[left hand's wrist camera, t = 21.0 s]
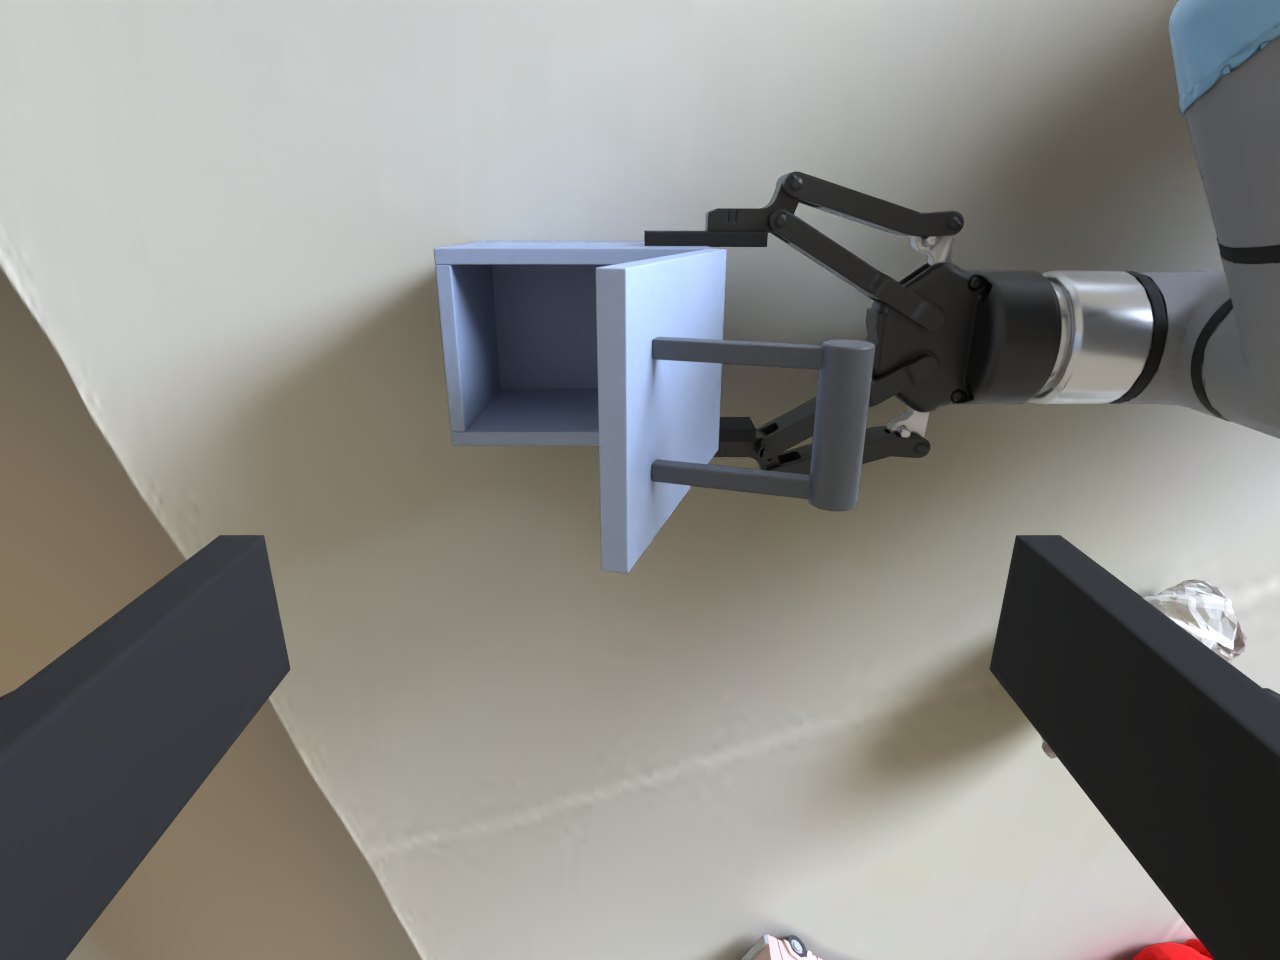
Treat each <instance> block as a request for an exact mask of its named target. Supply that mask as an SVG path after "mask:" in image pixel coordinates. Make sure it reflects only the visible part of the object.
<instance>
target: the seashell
mask: <svg viewBox="0 0 1280 960" xmlns="http://www.w3.org/2000/svg"><path fill="white" fill-rule="evenodd" d="M1142 598H1144V599H1145V600H1146V601H1148V602H1149V603H1150V604H1152V605H1153V606H1154V607H1156V608H1157V609H1158V610H1159V611H1161V612H1162V613H1163V614H1165V615H1166V616H1167V617H1169V618H1170V619H1171V620H1173V621H1174V622H1175V623H1177V624H1178V625H1179V626H1181V627H1182V628H1183V629H1185V630H1186V631H1187V632H1189V633H1190V634H1191V635H1193V636H1194V637H1195V638H1197V639H1198V640H1199V641H1201V642H1202V643H1203V644H1204V645H1206V646H1207V647H1208V648H1210V649H1211V650H1212V651H1214V652H1215V653H1216V654H1218V655H1219V656H1220V657H1222V658H1223V659H1224V660H1226V661H1227V662H1228V663H1231V662H1232V661H1233V660H1234V659H1236V658H1237V657H1239V656H1240V655H1241V654H1242V653H1243V652H1244V650H1245V647H1246V640H1247V638H1246V637H1245V635H1244V633H1243V631H1242V629H1241V627H1240V624H1239V622H1238V620H1237V618H1236V616H1235V614H1234V612H1233V609H1232V607H1231V604H1232V601H1231V600H1229V599H1226V597H1225V596H1224V594H1223V593H1222V592H1221V591H1220V590H1219V589H1218V588H1217V587H1213V586H1211V585H1210V584H1209V583H1207V582H1205V581H1200V580H1188V581H1183V582H1181V583H1180V584H1178V585H1176V586H1174V587H1171V588H1168V589H1166V590H1164V591H1163V592H1161V593H1159V594H1157V595H1154V596H1147V597H1142ZM1041 737H1042V736H1041ZM1042 739H1043V738H1042ZM1042 748H1043V750H1044V752H1045V754H1047V755H1048V756H1049V757H1050V758H1055V757H1057V756H1056V755H1055V753H1054V752H1053V751H1052V749H1051V748H1050V747H1049V745H1048V744H1047V743H1046V742H1045V740H1044V739H1043V744H1042Z"/></svg>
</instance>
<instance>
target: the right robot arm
mask: <svg viewBox="0 0 1280 960" xmlns="http://www.w3.org/2000/svg"><path fill="white" fill-rule="evenodd" d="M1169 34H1170V41H1171V47H1172V54H1173V60H1174V67H1175V74H1176V80H1177V87H1178V93H1179V100H1180V102H1179V109H1180V112H1181V114H1182V115H1185V117H1186V121H1187V124H1188V128H1189V132H1190V136H1191V139H1192V143H1193V147H1194V151H1195V154H1196V158H1197V162H1198V166H1199V169H1200V173H1201V177H1202V181H1203V184H1204V188H1205V192H1206V196H1207V200H1208V203H1209V207H1210V211H1211V215H1212V219H1213V222H1214V226H1215V230H1216V234H1217V240H1218V245H1219V249H1220V254H1221V259H1222V263H1223V267H1224V271H1176V272H1133V271H1047V272H1045V273H1042V274H1040V273H1039V272H1036V271H985V270H963V269H961V268H959V267H957V266H956V265H954V264H952V253H953V242H954V235H955V234H957V233H958V232H960V230H961V229H962V228H963V224H964V218H963V216H962V215H961V214H960V213H959V212H955V211H945V212H922V213H920V212H917V211H914V210H911V209H908V208H905V207H902V206H899V205H896V204H893V203H890V202H887V201H884V200H881V199H878V198H875V197H872V196H869V195H866V194H863V193H860V192H857V191H854V190H851V189H848V188H846V187H843V186H840V185H837V184H834V183H831V182H828V181H825V180H822V179H819V178H816V177H813V176H810V175H807V174H804V173H801V172H793V173H789V174H785V175H783V176H781V177H780V178H779V179H778V181H777V184H776V189H775V192H774V194H773V197H772V199H771V201H770V203H769V204H768V205H767V206H765V207H764V208H761V209H714V210H711V211H709V212H707V213H706V229H705V231H645V246H709V247H767V237H768V233H771V234H773V235H774V236H776V237H777V238H779V239H781V240H782V241H784V242H785V243H787V244H788V245H790V246H791V247H793V248H794V249H796V250H798V251H799V252H801V253H802V254H804V255H805V256H807V257H808V258H810V259H811V260H813V261H815V262H816V263H818V264H819V265H821V266H822V267H824V268H825V269H827V270H828V271H830V272H831V273H833V274H835V275H836V276H838V277H839V278H841V279H842V280H844V281H845V282H847V283H848V284H850V285H852V286H853V287H855V288H856V289H857V290H858V291H860V292H861V293H863V294H864V295H866V296H867V297H869V298H870V299H872V300H873V301H874V303H873V304H872V306H871V308H870V309H867V315H866V327H867V333H868V337H867V339H866V342H870V343H872V344H874V345H875V354H874V363H873V371H872V380H871V389H870V398H869V406H868V407H871V406H875V405H877V404H879V403H881V402H883V401H884V400H886V399H888V398H890V397H892V396H896V397H897V398H898V399H900V400H901V401H902V402H903V403H905V404H906V405H907V406H908V409H907V411H906V412H905V413H904V414H903V415H901V416H899V417H894V418H892V419H890V420H889V421H888V423H887V426H877V427H871V428H867V429H866V433H865V441H864V450H863V459H862V464H864V463H867V462H871V461H875V460H878V459H882V458H886V457H889V456H896V457H914V458H920V457H924V456H926V455H927V454H928V453H929V451H930V443H929V441H927V440H926V439H925V433H926V428H927V423H928V418H929V413H930V412H931V411H934V410H936V409H937V408H939V407H942V406H945V405H948V404H1021V403H1024V402H1026V401H1029V402H1031V403H1033V404H1104V403H1110V404H1114V403H1119V404H1120V403H1133V404H1169V405H1178V406H1184V407H1189V408H1192V409H1195V410H1198V411H1200V412H1203V413H1206V414H1209V415H1212V416H1215V417H1218V418H1221V419H1223V420H1226V421H1232V422H1235V423H1237V424H1240V425H1243V426H1246V427H1249V428H1251V429H1254V430H1257V431H1260V432H1263V433H1265V434H1268V435H1271V436H1274V437H1277V438H1279V439H1280V0H1178V2H1177V3H1176V5H1175V7H1174V9H1173V11H1172V14H1171V17H1170V21H1169ZM798 203H802V204H805V205H808V206H811V207H814V208H817V209H820V210H823V211H826V212H829V213H832V214H835V215H838V216H841V217H844V218H847V219H850V220H853V221H856V222H859V223H862V224H865V225H868V226H871V227H874V228H877V229H880V230H883V231H886V232H889V233H893V234H896V235H904V236H910V244H911V247H912V248H913V249H915V250H917V251H921V252H923V253H924V254H925V255H926V256H927V261H928V263H927V264H925V265H923V266H922V267H920V268H919V269H917V270H916V271H914V272H913V273H912V274H910V275H909V276H907V277H906V278H904V279H903V280H901V281H900V282H897V281H895V280H894V279H892V278H891V277H889V276H887V275H885V274H883V273H882V272H880V271H878V270H877V269H875V268H874V267H872V266H871V265H869V264H868V263H866V262H865V261H863V260H862V259H860V258H859V257H857V256H856V255H854V254H852V253H851V252H849V251H848V250H846V249H845V248H843V247H842V246H840V245H839V244H837V243H836V242H834V241H833V240H831V239H830V238H828V237H827V236H825V235H824V234H822V233H821V232H819V231H818V230H816V229H814V228H813V227H811V226H810V225H808V224H807V223H805V222H804V221H802V220H801V219H799V218H798V217H796V216H795V215H794V212H795V210H796V207H797V205H798ZM816 400H817V396H816V397H815V398H813V399H811V400H809V401H807V402H806V403H804V404H802V405H800V406H798V407H796V408H795V409H793V410H791V411H789V412H787V413H786V414H784V415H782V416H780V417H778V418H776V419H775V420H773V421H771V422H769V423H767V424H765V425H764V426H762V427H760V428H758V429H756V428H755V426H754V425H753V423H752V421H751V419H750V417H720V422H719V446H718V451H717V452H716V454H715V455H714V456H713V457H751V458H754V459H755V460H757V462H758V465H759V469H760V470H767V471H777V472H787V473H796V474H806V475H810V468H811V456H812V445H813V444H810V445H806V446H802V447H799V448H795V449H792V450H788V451H785V450H787V449H789V448H791V447H792V446H794V445H796V444H798V443H800V442H802V441H804V440H805V439H807V438H809V437H811V436H813V434H814V422H815V411H816ZM783 451H785V452H783Z"/></svg>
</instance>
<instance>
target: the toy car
mask: <svg viewBox="0 0 1280 960" xmlns="http://www.w3.org/2000/svg"><path fill="white" fill-rule="evenodd" d="M806 950H807V949H806V948H805V946H804V944H803V943H802V941H801V940H800V939H799V938H797V937H796V936H793V935H791V936H790V937H789V938H788V939H787V940H785V939H783V941H781V940H778V939H776V938H774V937H772V936H770V935H763V936H762V937H761V939H760V940H759V941H758V942H757V943H756V944H755V945H754V946H753V947H752V948H751V949H750V950H749V951H748V953H747V954H746V955H745V956H744V957H743V958H742V959H741V960H822V959H820V958H818V957H816V956H814V955H812V952H811V951H809V950H807V951H806Z"/></svg>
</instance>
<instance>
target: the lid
mask: <svg viewBox="0 0 1280 960" xmlns="http://www.w3.org/2000/svg"><path fill="white" fill-rule="evenodd" d="M725 275H726V249H704V250H698V251H692V252H686V253H680V254H674V255H668V256H663V257H657V258H651V259H645V260H639V261H633V262H627V263H621V264H615V265H610V266H604V267H598V268H596V313H597V364H598V415H599V467H600V518H601V569H602V570H606V571H612V572H619V573H625V574H627V573H628V572H629V571H630V570H631V568H632V567H633V566H634V564H635V563H636V561H637V560H638V559H639V557H640V556H641V555H642V553H643V552H644V551H645V549H646V548H647V546H648V545H649V544H650V542H651V541H652V540H653V538H654V537H655V536H656V534H657V533H658V531H659V530H660V529H661V527H662V526H663V525H664V523H665V522H666V520H667V519H668V518H669V516H670V515H671V514H672V512H673V511H674V510H675V508H676V507H677V505H678V504H679V503H680V501H681V500H682V499H683V497H684V496H685V495H686V493H687V492H688V490H689V489H690V488H691V486H697V487H706V488H715V489H723V490H732V491H741V492H750V493H759V494H768V495H776V496H785V497H794V498H803V499H808V501H809V503H810V504H811V505H813V506H814V507H817V508H819V509H823V510H828V511H847V510H851V509H853V508H855V507H856V505H857V503H858V494H859V485H860V476H861V468H862V459H863V450H864V441H865V433H866V424H867V415H868V406H869V398H870V389H871V380H872V371H873V363H874V354H875V345H874V344H872V343H870V342H866V341H861V340H849V339H836V340H828V341H824V342H823V343H822V344H821V345H814V344H794V343H775V342H755V341H736V340H723V324H724V299H725ZM722 364H736V365H753V366H769V367H785V368H802V369H818V370H819V377H818V388H817V400H816V411H815V422H814V434H813V445H812V456H811V468H810V475H806V474H796V473H787V472H777V471H767V470H757V469H748V468H738V467H728V466H719V465H709V464H708V463H709V462H710V460H711V459H712V458H713V456H714V455H715V454H716V452H717V451H718V446H719V422H720V397H721V373H722Z"/></svg>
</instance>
